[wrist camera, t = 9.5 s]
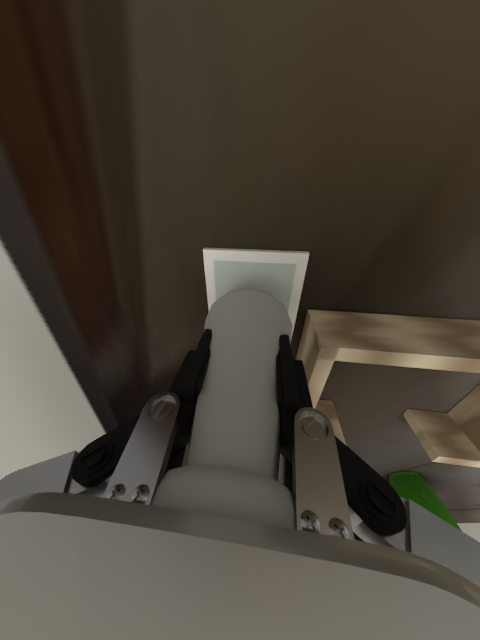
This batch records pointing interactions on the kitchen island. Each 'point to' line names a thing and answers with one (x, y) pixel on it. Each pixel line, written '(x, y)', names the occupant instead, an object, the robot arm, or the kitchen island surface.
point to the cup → (420, 494)
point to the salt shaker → (236, 419)
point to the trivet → (256, 274)
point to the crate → (407, 351)
